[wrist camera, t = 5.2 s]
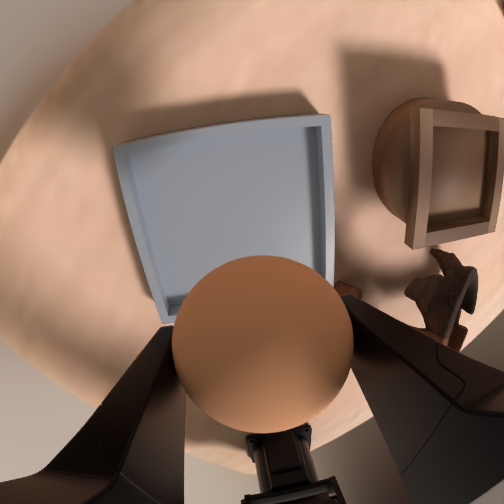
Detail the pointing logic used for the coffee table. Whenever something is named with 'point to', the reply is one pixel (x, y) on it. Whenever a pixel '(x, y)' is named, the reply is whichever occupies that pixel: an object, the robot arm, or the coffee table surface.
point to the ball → (262, 344)
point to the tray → (229, 199)
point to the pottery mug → (439, 298)
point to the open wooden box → (440, 170)
